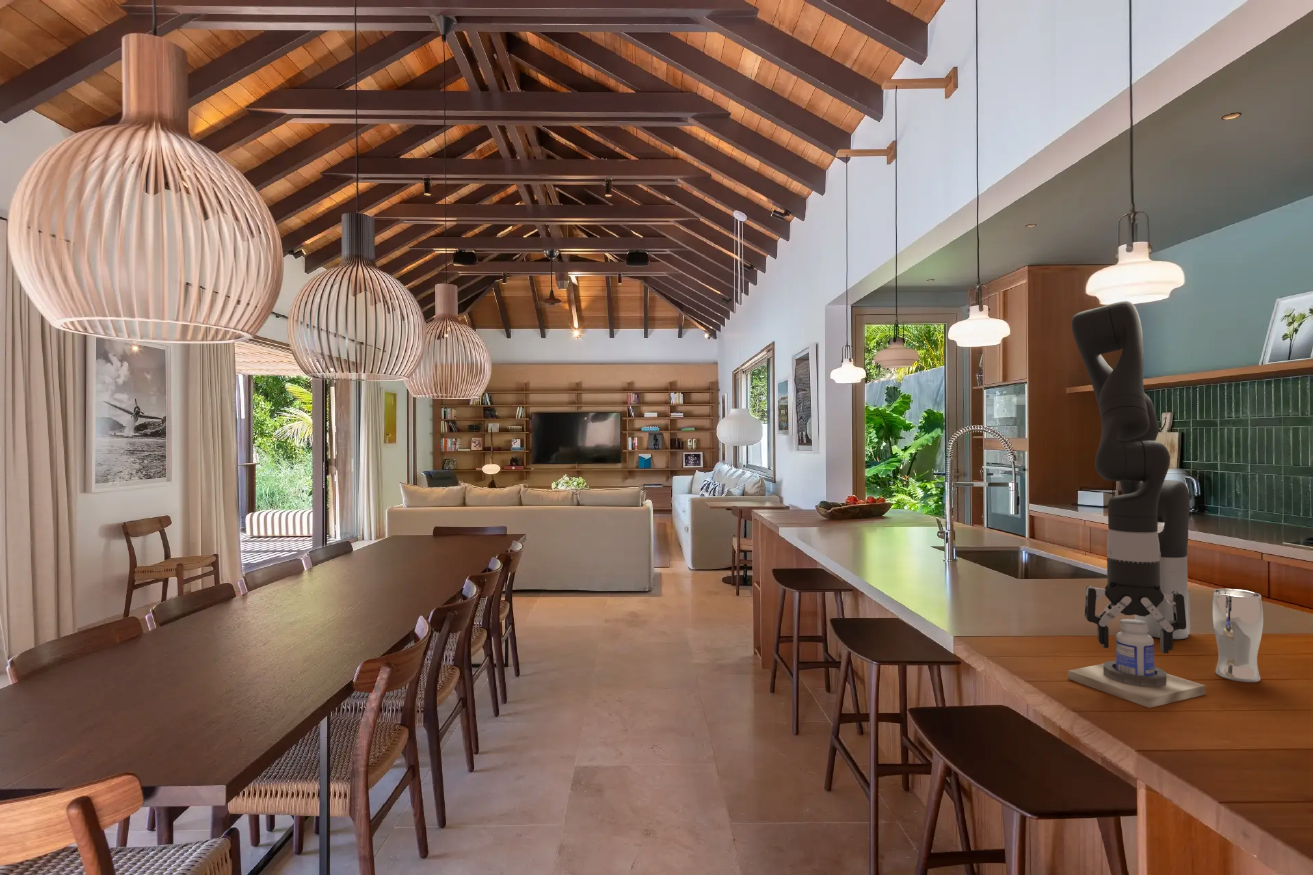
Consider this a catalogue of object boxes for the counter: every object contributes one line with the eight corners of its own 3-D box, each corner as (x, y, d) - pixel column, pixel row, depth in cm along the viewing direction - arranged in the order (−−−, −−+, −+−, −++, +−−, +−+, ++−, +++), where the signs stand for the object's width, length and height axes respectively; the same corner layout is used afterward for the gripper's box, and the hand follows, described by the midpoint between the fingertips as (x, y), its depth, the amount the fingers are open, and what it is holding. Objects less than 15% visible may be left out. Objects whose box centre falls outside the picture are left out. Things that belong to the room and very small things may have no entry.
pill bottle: (1147, 673, 120) (1146, 618, 120) (1160, 684, 114) (1159, 627, 114) (1111, 671, 121) (1110, 616, 121) (1123, 682, 116) (1122, 625, 116)
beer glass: (1252, 671, 124) (1251, 589, 124) (1272, 685, 117) (1271, 598, 117) (1205, 668, 126) (1204, 587, 126) (1223, 681, 119) (1221, 595, 119)
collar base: (1122, 667, 127) (1122, 651, 127) (1205, 694, 114) (1205, 676, 114) (1068, 678, 122) (1068, 662, 122) (1149, 707, 109) (1148, 689, 109)
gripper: (1177, 554, 118) (1178, 647, 118) (1081, 550, 124) (1082, 638, 124) (1190, 562, 111) (1191, 661, 111) (1088, 557, 117) (1089, 651, 117)
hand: (1134, 649), depth 118 cm, fingers open, 8 cm apart
